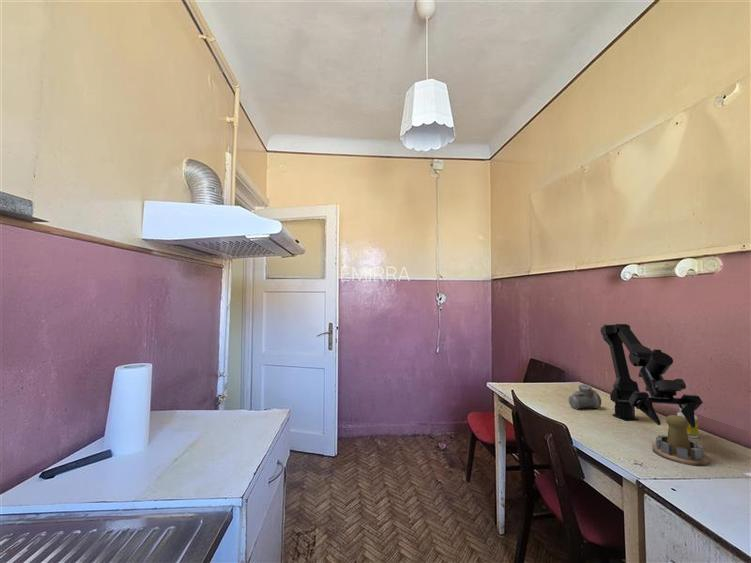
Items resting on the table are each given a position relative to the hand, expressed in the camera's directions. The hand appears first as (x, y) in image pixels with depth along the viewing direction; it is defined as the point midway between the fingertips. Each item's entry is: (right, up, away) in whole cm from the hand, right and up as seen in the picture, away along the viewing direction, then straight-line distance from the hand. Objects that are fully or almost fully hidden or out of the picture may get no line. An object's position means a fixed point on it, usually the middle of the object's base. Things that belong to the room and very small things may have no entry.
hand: (676, 425), depth 104 cm
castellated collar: (0, -9, -1) cm, 9 cm away
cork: (0, -8, -1) cm, 8 cm away
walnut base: (0, -9, -1) cm, 9 cm away
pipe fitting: (-1, -12, +44) cm, 46 cm away
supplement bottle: (+17, -10, +14) cm, 25 cm away
